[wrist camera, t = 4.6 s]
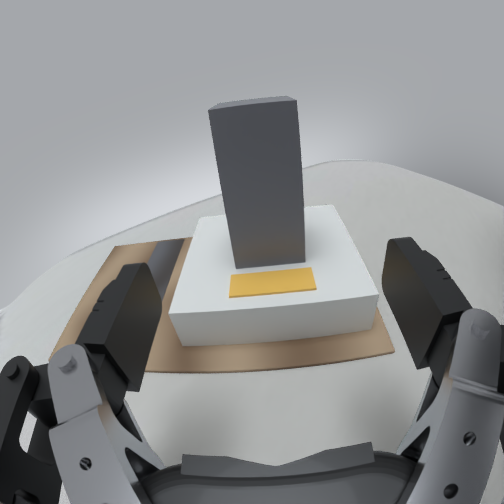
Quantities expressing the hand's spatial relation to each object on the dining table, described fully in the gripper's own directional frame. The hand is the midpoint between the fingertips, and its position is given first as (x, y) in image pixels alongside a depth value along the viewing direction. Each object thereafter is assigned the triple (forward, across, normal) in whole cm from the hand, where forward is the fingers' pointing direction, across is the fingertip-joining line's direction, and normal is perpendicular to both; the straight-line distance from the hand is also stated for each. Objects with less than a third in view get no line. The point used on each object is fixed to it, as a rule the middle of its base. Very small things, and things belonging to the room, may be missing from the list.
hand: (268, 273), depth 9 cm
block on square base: (+10, 0, +8) cm, 13 cm away
